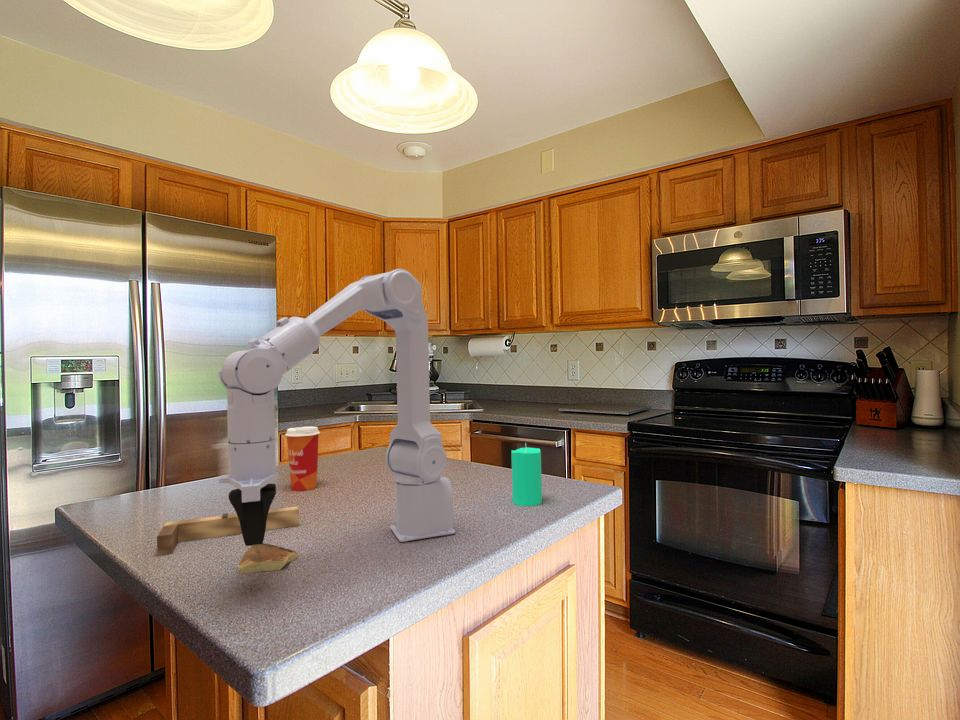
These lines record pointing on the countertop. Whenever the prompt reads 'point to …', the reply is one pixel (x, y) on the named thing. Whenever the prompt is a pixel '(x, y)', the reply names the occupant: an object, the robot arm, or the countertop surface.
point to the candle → (526, 476)
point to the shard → (265, 558)
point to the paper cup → (303, 457)
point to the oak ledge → (217, 527)
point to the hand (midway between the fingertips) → (254, 543)
